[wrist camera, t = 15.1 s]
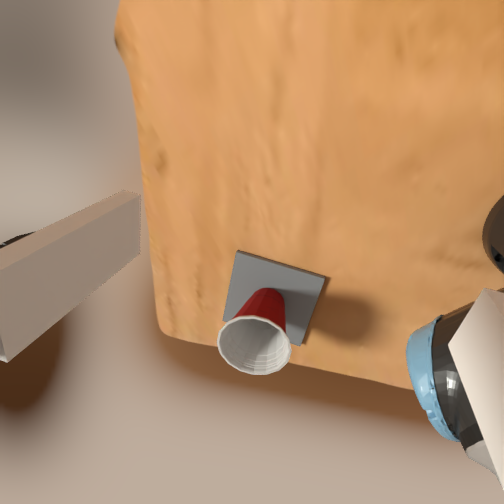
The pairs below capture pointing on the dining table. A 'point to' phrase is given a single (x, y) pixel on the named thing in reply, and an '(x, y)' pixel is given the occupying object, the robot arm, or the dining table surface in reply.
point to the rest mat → (282, 280)
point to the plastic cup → (257, 335)
